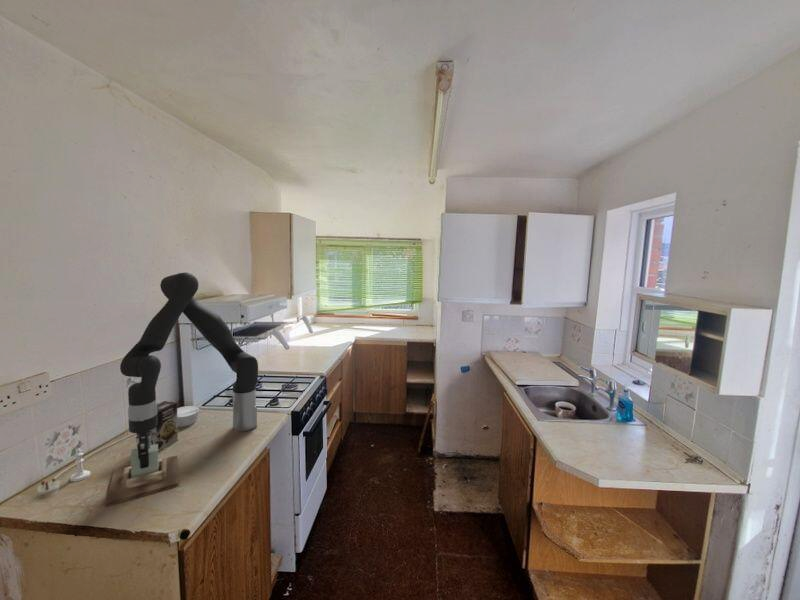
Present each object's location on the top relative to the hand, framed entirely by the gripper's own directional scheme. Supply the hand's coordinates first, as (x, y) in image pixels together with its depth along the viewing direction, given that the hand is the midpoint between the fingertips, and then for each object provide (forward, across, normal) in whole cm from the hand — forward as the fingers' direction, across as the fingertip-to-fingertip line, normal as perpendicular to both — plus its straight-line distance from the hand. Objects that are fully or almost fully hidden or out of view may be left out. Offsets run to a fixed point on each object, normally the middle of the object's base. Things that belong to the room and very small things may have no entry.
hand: (145, 463), depth 111 cm
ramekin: (+6, -39, +12) cm, 41 cm away
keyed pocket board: (+6, 0, 0) cm, 6 cm away
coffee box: (+6, -22, +4) cm, 23 cm away
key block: (+3, 0, 0) cm, 3 cm away
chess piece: (+6, -12, -18) cm, 22 cm away
